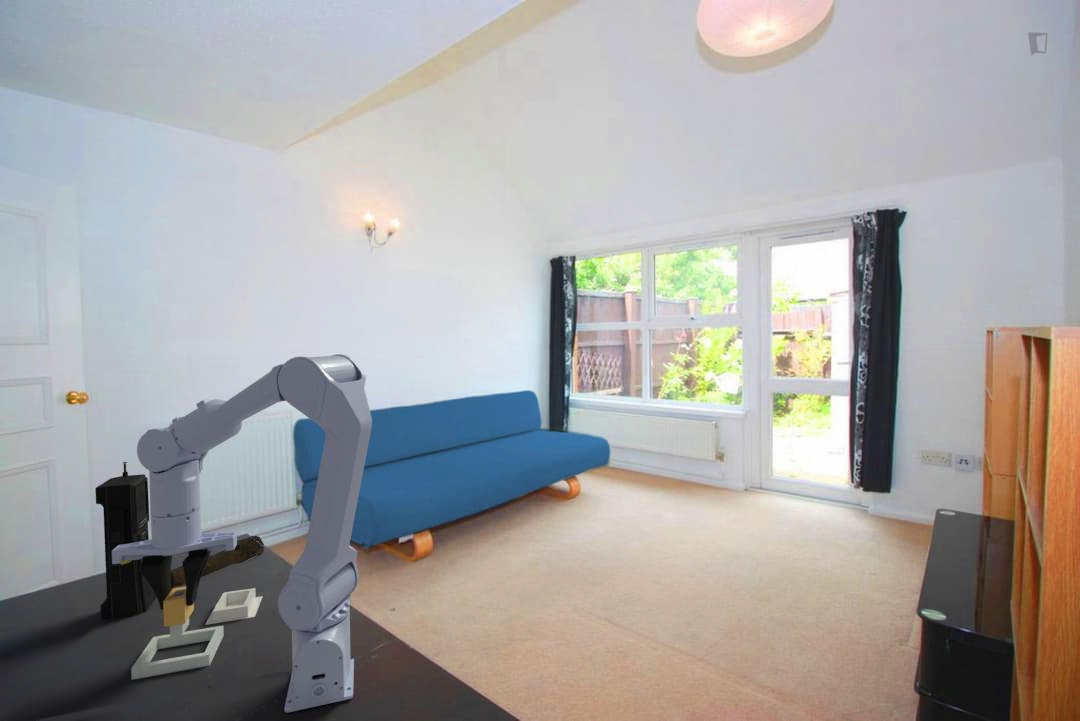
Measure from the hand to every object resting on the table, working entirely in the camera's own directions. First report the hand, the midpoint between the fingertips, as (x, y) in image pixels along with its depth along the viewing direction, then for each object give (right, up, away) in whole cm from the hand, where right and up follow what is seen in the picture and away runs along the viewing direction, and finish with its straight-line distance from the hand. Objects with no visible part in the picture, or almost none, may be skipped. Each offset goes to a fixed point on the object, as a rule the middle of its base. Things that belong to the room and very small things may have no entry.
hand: (178, 604), depth 73 cm
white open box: (+1, -8, +13) cm, 15 cm away
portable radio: (-18, -8, +13) cm, 24 cm away
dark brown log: (-13, -8, +29) cm, 33 cm away
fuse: (0, -4, 0) cm, 4 cm away
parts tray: (0, -8, 0) cm, 8 cm away
